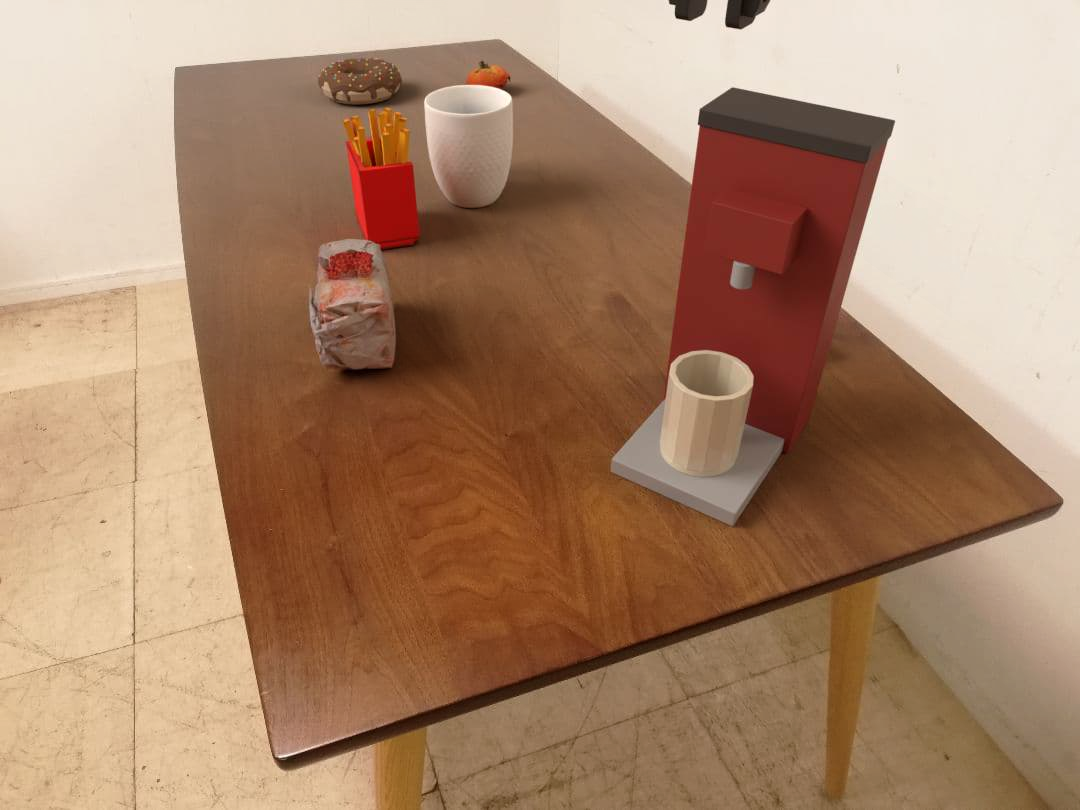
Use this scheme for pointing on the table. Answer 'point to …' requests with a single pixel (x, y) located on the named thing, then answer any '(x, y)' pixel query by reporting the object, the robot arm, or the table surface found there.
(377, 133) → the french fries container
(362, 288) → the food item
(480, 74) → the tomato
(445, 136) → the mug
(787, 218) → the coffee maker
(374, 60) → the donut
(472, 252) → the table surface
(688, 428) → the cream cup
